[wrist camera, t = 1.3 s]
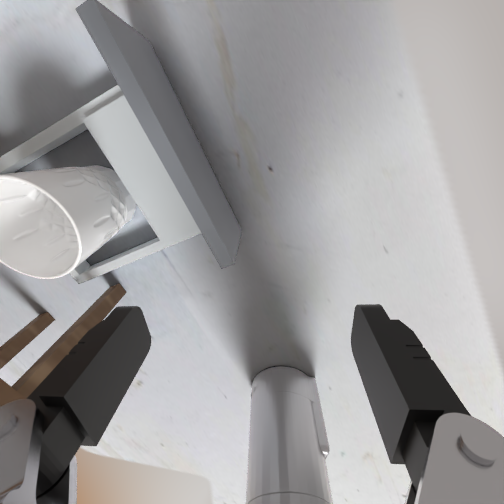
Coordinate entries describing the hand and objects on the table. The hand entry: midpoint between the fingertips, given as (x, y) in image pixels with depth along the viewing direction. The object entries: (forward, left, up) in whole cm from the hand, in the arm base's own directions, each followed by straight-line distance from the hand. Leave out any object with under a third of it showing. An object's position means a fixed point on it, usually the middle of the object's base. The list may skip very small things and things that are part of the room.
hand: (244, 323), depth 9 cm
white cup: (+16, +2, -19) cm, 25 cm away
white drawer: (+14, +1, -18) cm, 23 cm away
